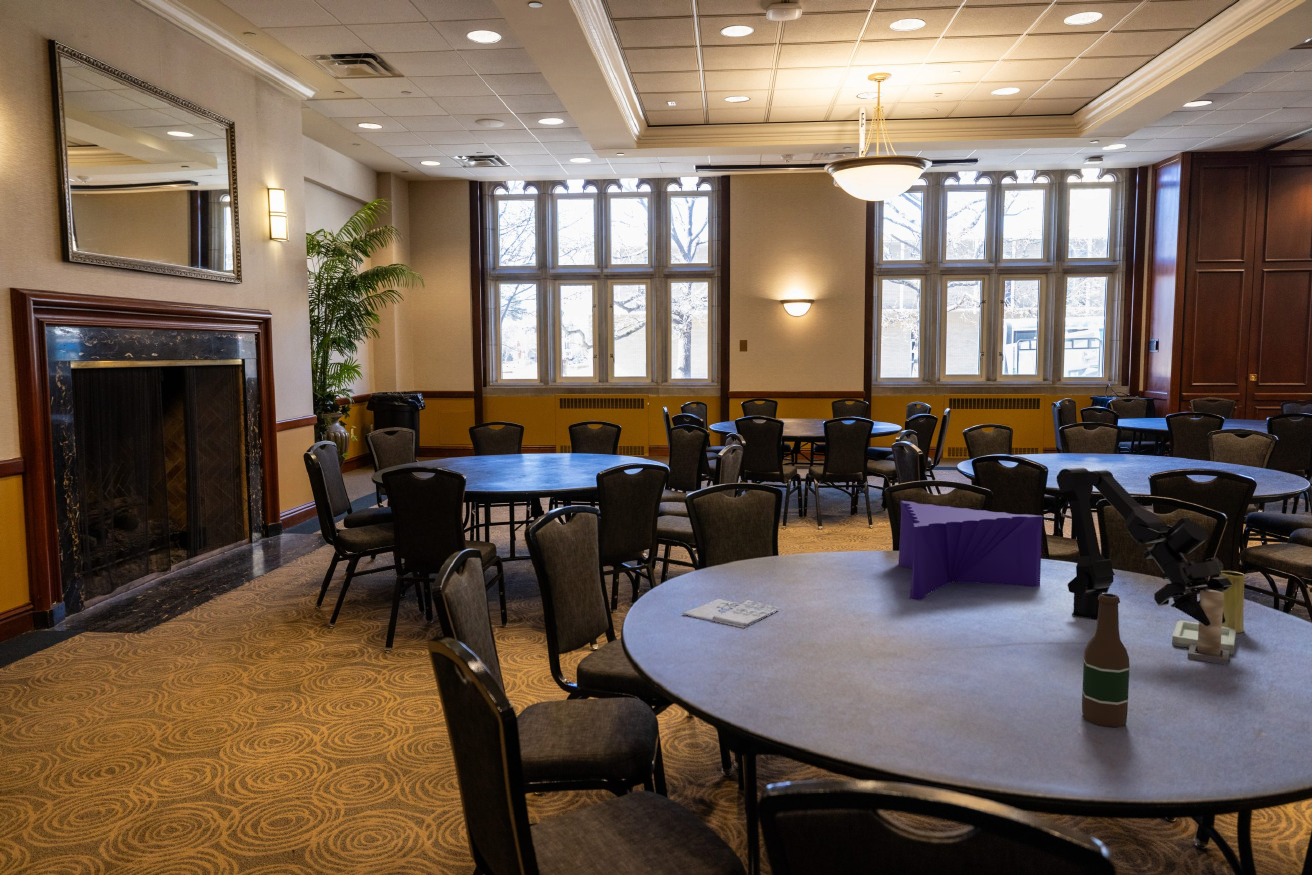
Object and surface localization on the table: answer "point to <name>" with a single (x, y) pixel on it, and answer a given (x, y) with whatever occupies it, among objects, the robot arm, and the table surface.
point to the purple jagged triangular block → (968, 547)
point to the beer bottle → (1106, 669)
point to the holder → (1208, 658)
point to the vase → (1234, 601)
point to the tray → (1189, 635)
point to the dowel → (1211, 623)
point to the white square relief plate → (732, 612)
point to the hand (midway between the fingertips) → (1216, 623)
